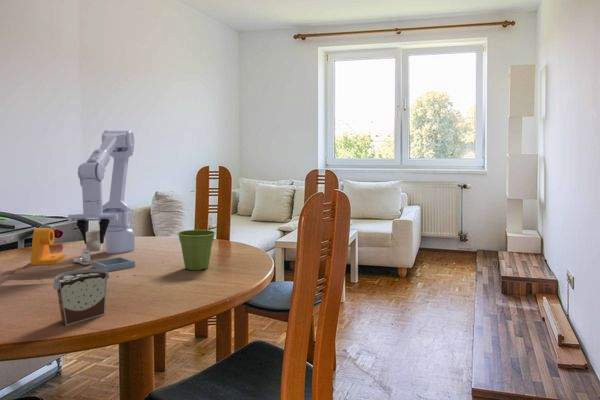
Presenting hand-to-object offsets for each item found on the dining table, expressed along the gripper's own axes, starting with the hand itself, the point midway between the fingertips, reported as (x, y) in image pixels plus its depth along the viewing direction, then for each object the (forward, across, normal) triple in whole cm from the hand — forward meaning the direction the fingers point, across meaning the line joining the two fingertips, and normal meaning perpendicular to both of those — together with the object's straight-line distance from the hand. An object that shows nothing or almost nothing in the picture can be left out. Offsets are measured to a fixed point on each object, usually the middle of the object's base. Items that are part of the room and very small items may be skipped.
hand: (94, 243), depth 167 cm
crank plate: (+7, -1, -1) cm, 7 cm away
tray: (+7, +7, -9) cm, 13 cm away
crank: (+6, -3, -3) cm, 7 cm away
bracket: (+8, -15, +4) cm, 17 cm away
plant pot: (+7, +32, -10) cm, 34 cm away
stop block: (+2, 0, 0) cm, 2 cm away
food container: (+7, +7, -54) cm, 55 cm away
